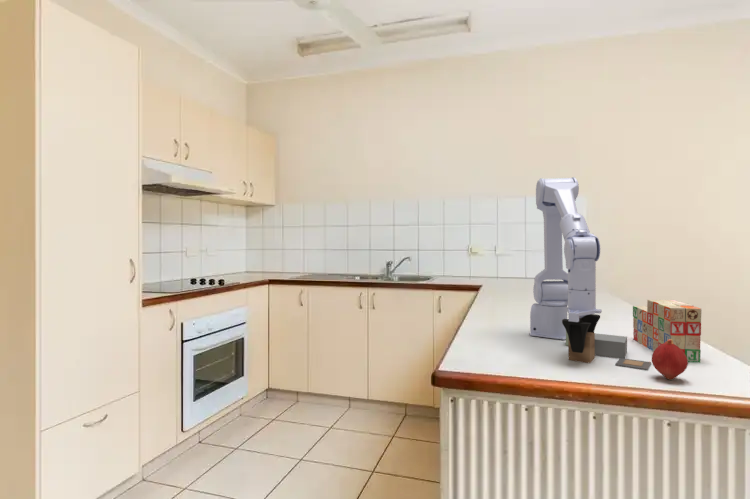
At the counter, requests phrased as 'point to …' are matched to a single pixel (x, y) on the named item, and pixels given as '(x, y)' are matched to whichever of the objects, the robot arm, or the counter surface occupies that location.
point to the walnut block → (588, 350)
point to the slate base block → (610, 346)
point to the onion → (669, 360)
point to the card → (633, 364)
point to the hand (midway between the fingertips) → (581, 348)
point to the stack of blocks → (669, 326)
